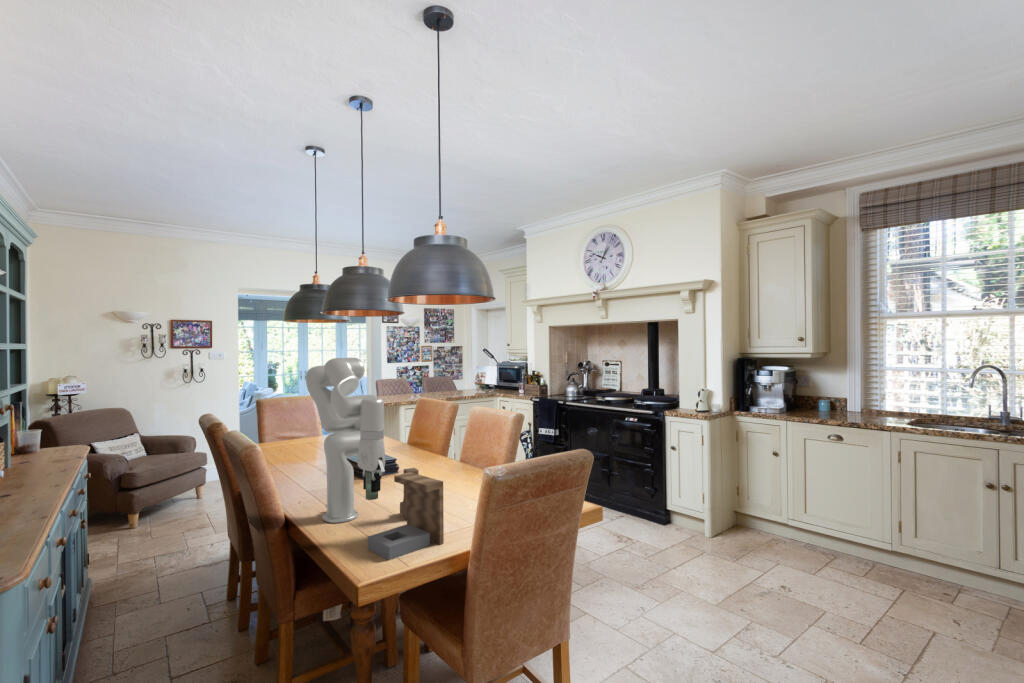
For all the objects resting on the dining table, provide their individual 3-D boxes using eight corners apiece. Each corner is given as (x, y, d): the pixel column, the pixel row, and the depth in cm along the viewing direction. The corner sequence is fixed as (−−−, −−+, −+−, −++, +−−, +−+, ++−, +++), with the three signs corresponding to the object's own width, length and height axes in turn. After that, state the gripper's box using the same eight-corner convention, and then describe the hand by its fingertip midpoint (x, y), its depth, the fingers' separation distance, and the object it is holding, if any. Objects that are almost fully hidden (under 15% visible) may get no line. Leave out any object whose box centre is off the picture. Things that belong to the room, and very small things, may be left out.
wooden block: (399, 513, 193) (399, 466, 193) (410, 511, 195) (410, 465, 195) (407, 520, 185) (407, 471, 185) (419, 518, 187) (418, 469, 188)
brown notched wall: (394, 535, 171) (394, 475, 172) (410, 529, 176) (410, 472, 176) (427, 549, 159) (427, 485, 159) (443, 543, 164) (443, 481, 164)
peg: (363, 498, 169) (363, 468, 169) (373, 495, 172) (374, 465, 172) (369, 500, 166) (369, 470, 166) (380, 497, 169) (380, 468, 169)
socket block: (367, 549, 160) (367, 536, 160) (407, 535, 170) (407, 524, 170) (389, 560, 151) (389, 546, 151) (429, 545, 162) (429, 532, 162)
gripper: (348, 433, 172) (348, 487, 172) (375, 440, 161) (375, 498, 161) (368, 430, 177) (368, 482, 178) (396, 437, 166) (395, 492, 166)
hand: (371, 489), depth 169 cm, fingers closed on peg, 4 cm apart
